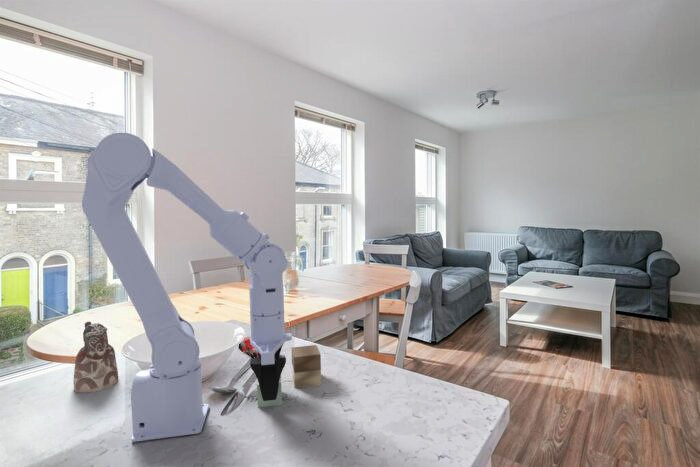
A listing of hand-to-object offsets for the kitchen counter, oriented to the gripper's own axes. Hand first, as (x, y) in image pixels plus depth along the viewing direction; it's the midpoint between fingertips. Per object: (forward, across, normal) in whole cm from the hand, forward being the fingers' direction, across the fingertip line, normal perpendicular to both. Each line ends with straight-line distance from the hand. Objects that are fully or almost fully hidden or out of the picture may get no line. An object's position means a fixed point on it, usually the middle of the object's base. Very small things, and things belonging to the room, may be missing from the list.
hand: (270, 388), depth 65 cm
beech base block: (+2, +6, -7) cm, 9 cm away
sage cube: (+2, 0, 0) cm, 2 cm away
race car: (+3, +23, +3) cm, 23 cm away
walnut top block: (-1, +6, -7) cm, 9 cm away
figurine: (+2, +14, +33) cm, 36 cm away
